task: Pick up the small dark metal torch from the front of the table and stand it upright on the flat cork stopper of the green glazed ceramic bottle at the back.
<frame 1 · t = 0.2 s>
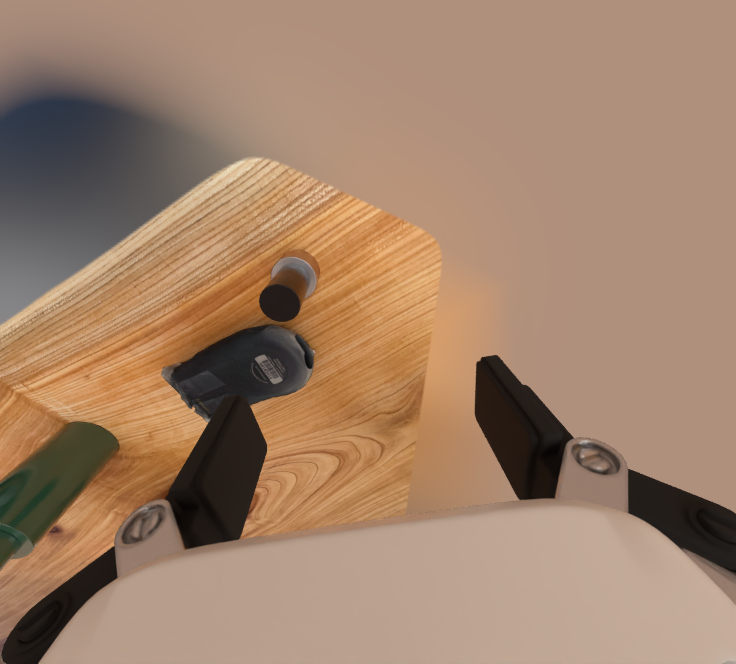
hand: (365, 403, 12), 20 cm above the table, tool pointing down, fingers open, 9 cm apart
electronic device: (252, 363, 34), on the table
bottle: (89, 441, 38), on the table
torch: (298, 270, 29), on the table
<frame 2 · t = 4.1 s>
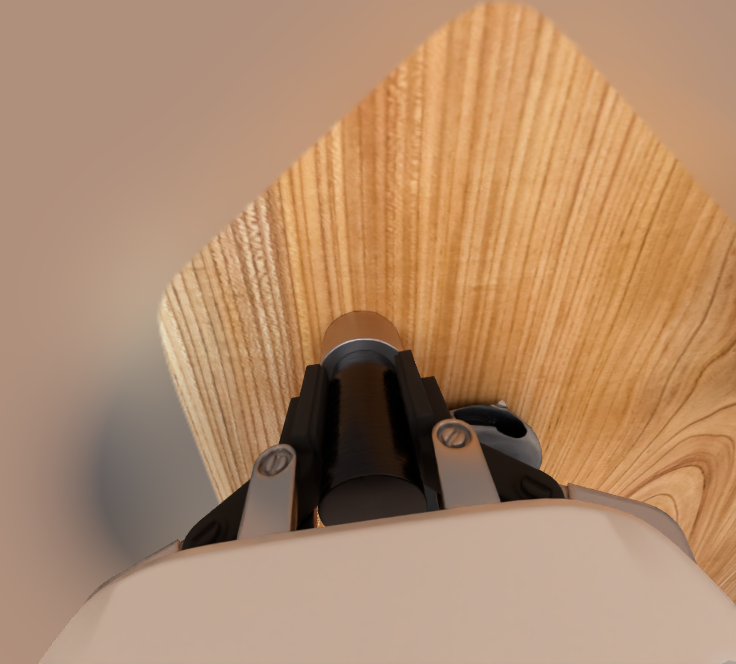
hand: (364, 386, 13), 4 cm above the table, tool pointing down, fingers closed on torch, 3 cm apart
electronic device: (447, 473, 22), on the table
torch: (361, 345, 16), on the table, touching gripper
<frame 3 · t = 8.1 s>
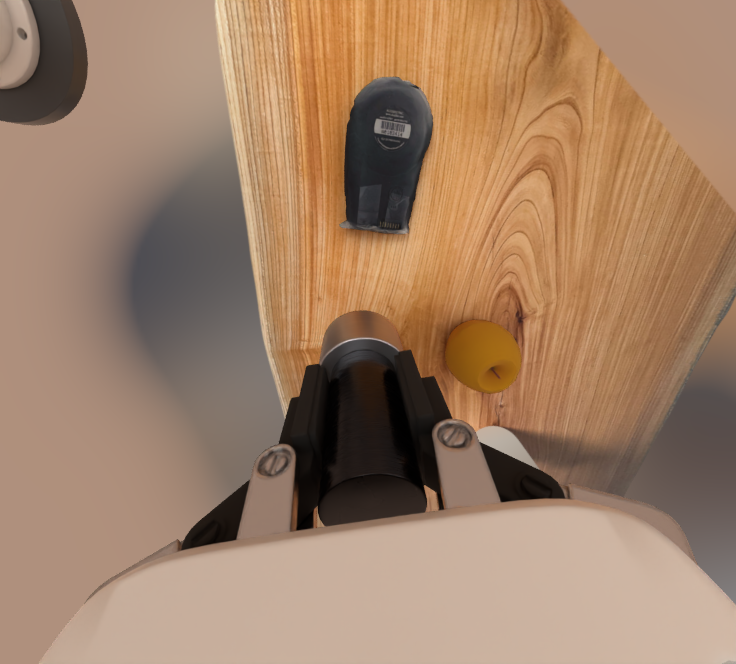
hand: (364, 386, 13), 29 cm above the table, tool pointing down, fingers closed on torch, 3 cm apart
apple: (465, 335, 46), on the table
electronic device: (383, 162, 34), on the table
torch: (361, 345, 16), point 26 cm above the table, touching gripper
when the fingers open (21 cm above the table, at t = 12.1 s): torch stays where it is, resting on bottle.
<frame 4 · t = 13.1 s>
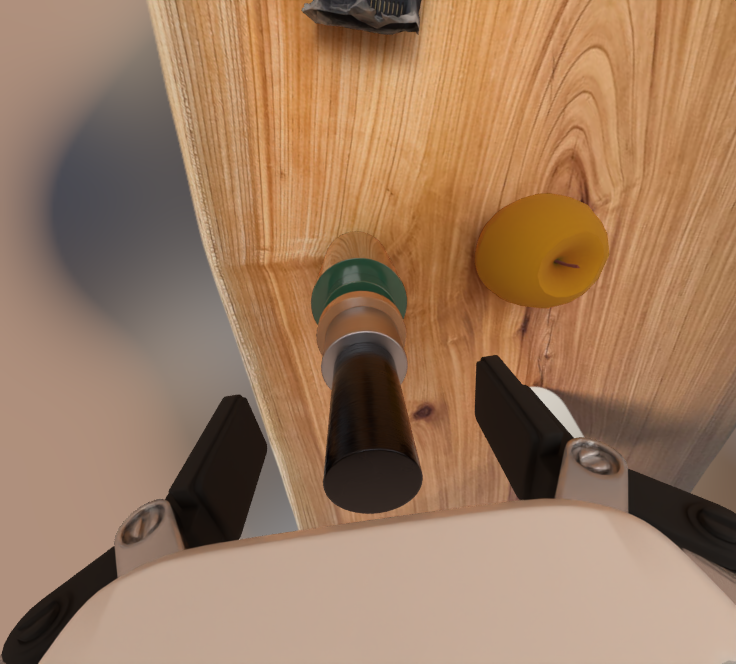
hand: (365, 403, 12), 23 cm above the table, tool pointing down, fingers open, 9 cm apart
apple: (502, 241, 32), on the table
bottle: (356, 264, 32), on the table
torch: (362, 339, 17), point 17 cm above the table, touching bottle
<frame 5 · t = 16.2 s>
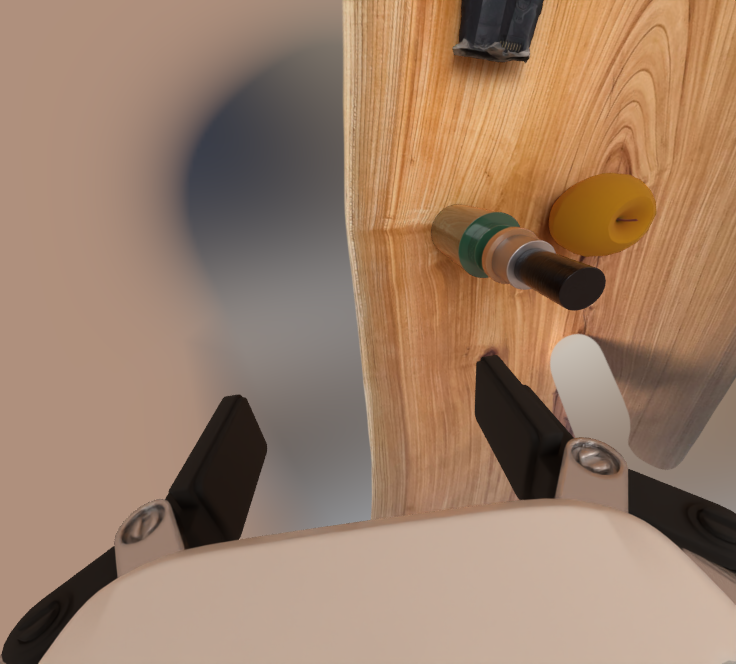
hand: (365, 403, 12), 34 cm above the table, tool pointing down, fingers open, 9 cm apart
apple: (564, 212, 42), on the table
bottle: (454, 230, 42), on the table
torch: (513, 257, 27), point 17 cm above the table, touching bottle
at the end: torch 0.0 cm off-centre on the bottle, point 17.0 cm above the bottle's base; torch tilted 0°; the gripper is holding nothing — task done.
